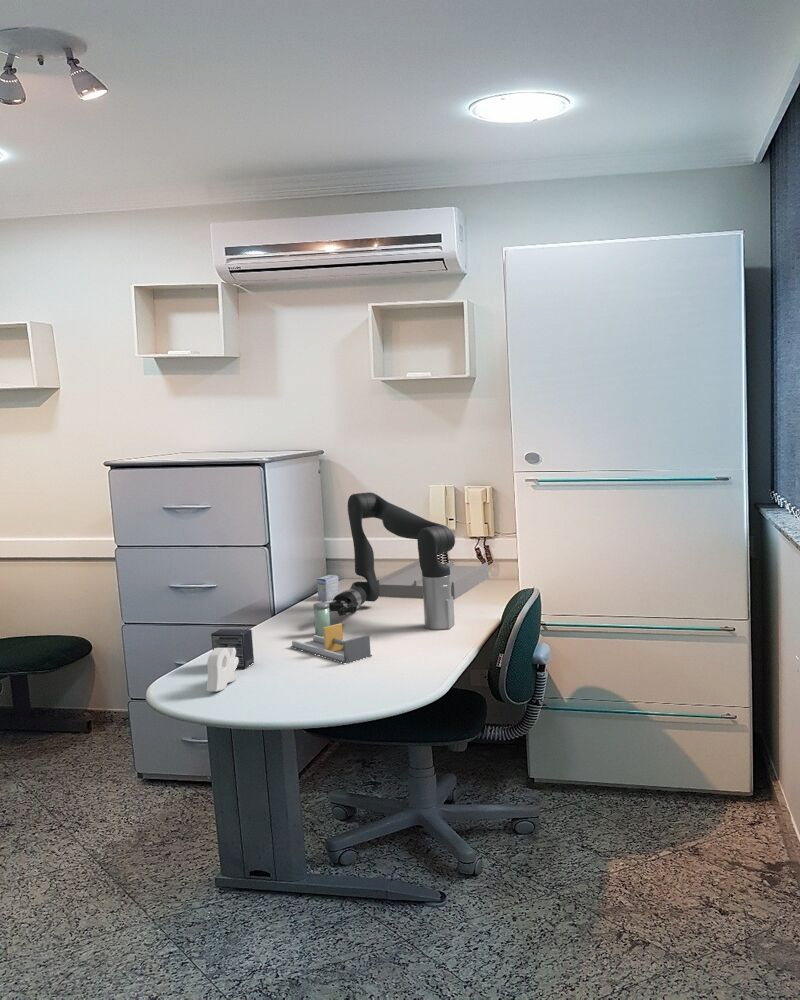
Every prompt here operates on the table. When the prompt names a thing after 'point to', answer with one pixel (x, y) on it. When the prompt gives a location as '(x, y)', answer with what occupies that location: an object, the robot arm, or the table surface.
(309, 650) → the pusher lane
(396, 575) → the desk organizer
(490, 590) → the table surface
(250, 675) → the table surface
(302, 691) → the table surface
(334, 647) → the pusher plate
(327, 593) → the medicine box
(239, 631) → the small box
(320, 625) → the green jar
